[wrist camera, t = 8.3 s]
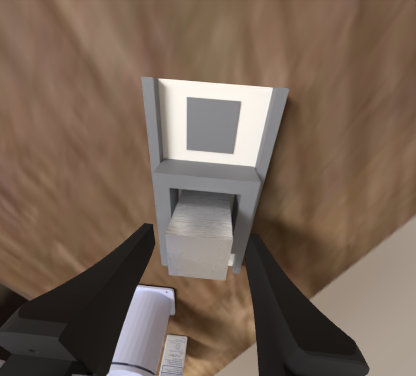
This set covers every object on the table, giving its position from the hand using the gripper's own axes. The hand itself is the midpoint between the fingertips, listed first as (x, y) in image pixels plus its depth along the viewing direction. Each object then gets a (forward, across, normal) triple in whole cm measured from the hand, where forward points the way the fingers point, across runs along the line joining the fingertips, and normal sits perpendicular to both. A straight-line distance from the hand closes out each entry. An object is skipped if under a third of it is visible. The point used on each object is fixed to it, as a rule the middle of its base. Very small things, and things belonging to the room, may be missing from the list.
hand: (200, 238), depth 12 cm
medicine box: (+6, +4, +40) cm, 41 cm away
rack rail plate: (+6, 0, 0) cm, 6 cm away
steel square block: (+5, 0, 0) cm, 5 cm away
